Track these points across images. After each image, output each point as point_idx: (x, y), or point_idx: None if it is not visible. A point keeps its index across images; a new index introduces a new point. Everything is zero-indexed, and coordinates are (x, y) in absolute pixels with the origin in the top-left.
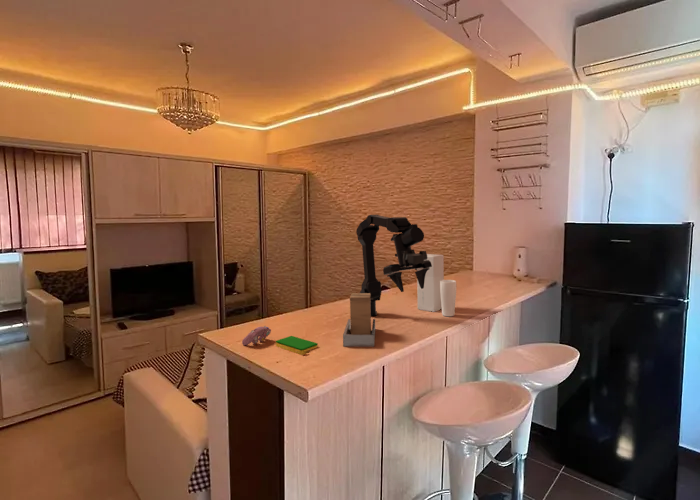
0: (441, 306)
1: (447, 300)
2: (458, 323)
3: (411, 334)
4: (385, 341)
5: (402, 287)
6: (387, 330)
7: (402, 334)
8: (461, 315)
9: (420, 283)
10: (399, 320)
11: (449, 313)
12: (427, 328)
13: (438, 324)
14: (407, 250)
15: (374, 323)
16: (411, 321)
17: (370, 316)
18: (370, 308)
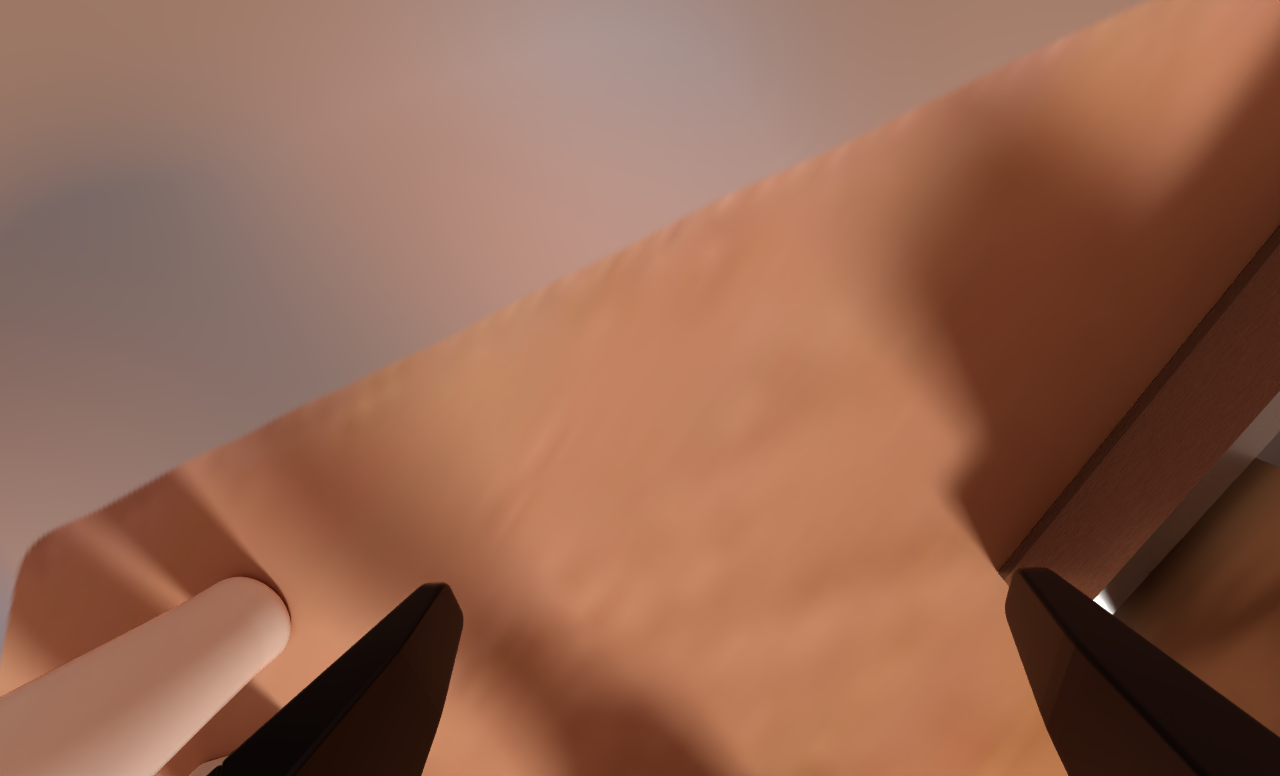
0: (207, 772)
1: (149, 672)
2: (286, 413)
3: (772, 344)
4: (1108, 275)
5: (1111, 644)
6: (890, 535)
7: (841, 380)
8: (174, 565)
9: (406, 726)
10: (644, 702)
11: (243, 592)
12: (562, 420)
13: (431, 466)
14: None
15: (1180, 508)
16: (574, 633)
17: (1238, 611)
18: (1278, 720)
